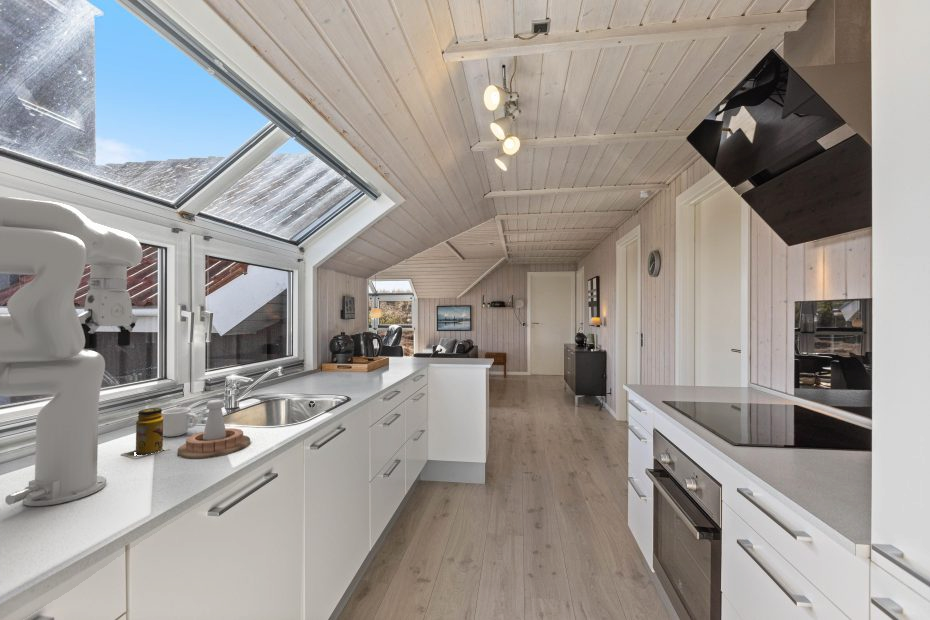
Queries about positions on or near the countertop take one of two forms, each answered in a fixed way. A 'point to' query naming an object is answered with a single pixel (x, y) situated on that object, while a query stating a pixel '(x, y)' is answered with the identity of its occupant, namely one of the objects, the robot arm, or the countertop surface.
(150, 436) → the condiment
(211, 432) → the salt shaker
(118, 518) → the countertop surface
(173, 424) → the cup
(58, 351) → the robot arm
